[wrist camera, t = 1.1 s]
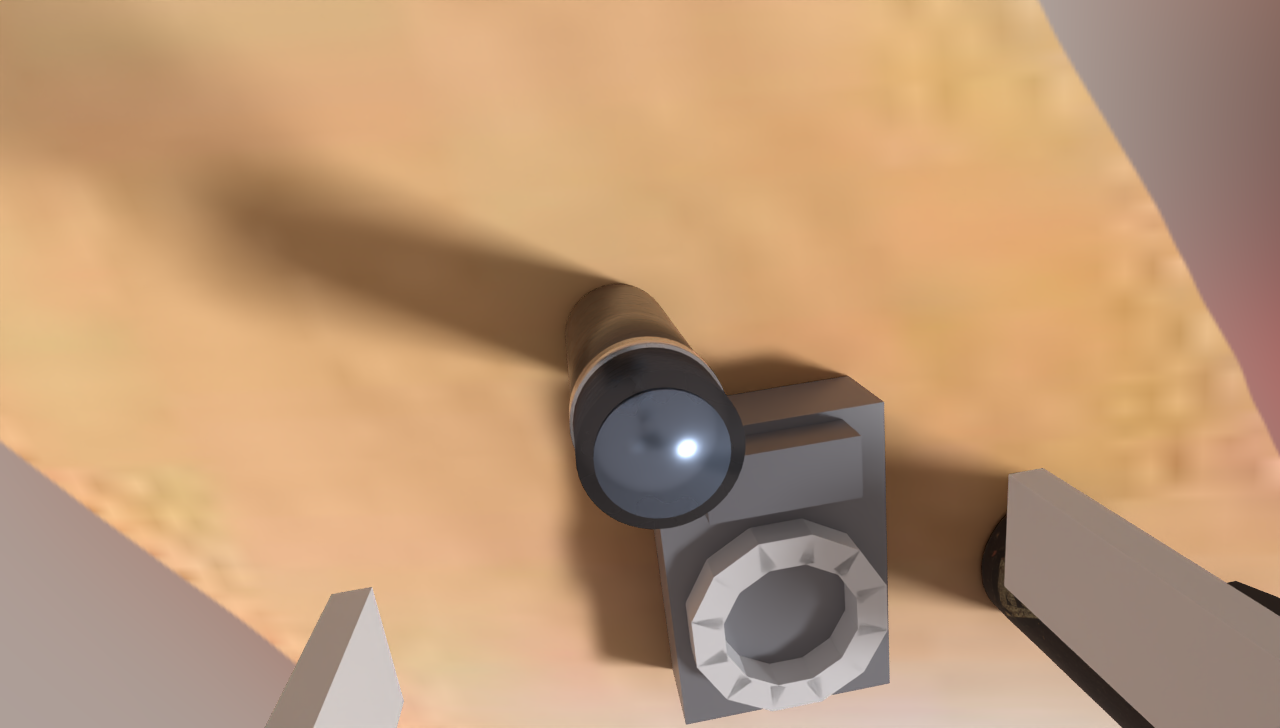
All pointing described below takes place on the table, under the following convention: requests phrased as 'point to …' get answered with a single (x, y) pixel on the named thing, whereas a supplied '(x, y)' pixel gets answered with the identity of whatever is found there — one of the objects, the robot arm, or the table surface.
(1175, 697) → the robot arm
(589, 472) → the lens
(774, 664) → the camera body
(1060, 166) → the table surface
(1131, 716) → the container
